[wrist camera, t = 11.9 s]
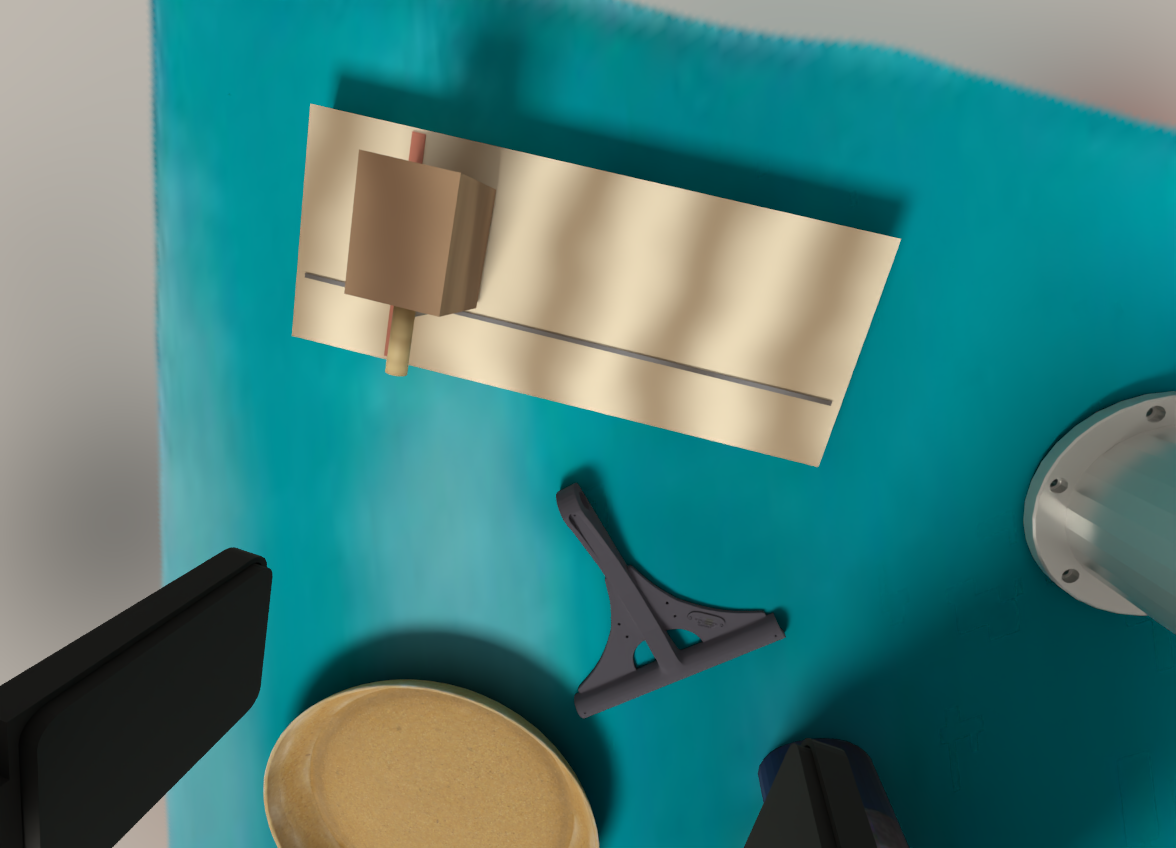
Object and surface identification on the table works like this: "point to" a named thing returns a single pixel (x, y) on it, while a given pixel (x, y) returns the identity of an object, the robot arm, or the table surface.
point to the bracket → (651, 623)
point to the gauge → (416, 243)
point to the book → (868, 784)
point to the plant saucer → (421, 775)
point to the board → (613, 292)
